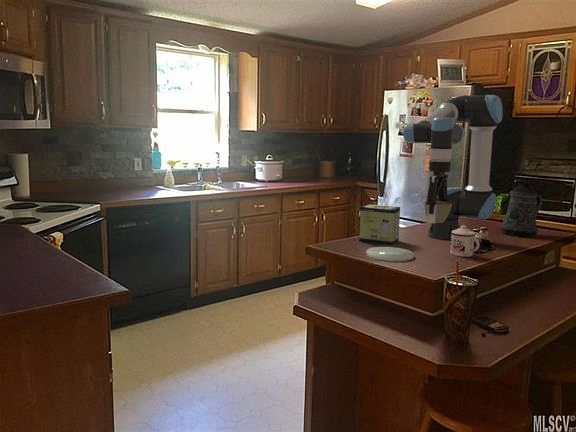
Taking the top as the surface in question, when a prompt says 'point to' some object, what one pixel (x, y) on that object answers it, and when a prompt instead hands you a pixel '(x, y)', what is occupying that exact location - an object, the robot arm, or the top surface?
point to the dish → (390, 254)
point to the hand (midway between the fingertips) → (435, 220)
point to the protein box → (379, 224)
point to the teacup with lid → (463, 242)
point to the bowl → (440, 210)
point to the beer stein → (522, 211)
